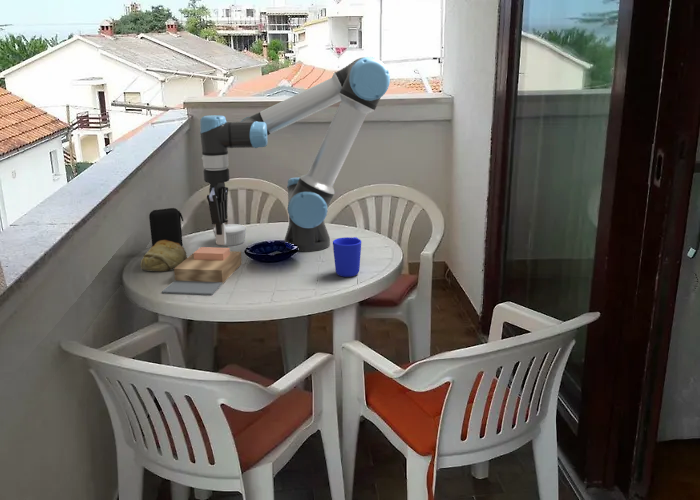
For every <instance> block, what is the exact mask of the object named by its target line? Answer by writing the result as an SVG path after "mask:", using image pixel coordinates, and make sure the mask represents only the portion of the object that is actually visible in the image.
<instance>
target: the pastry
mask: <svg viewBox="0 0 700 500" xmlns="http://www.w3.org/2000/svg"><path fill="white" fill-rule="evenodd" d="M187 258H188V256H187V252H186V250H185V248H184V247H183V246H181V245H180V244H179V243H175V242H172V241H168V240H160V241H158V242H156V244H155V245H154V246H152V245H151V247H150V248H149V250H147V252H146V253H145V254H144V255H143V257H142V259H141V260H140V264H139V265H140V269H141V270H142V271H147V272H169V271H171V270H174V268H175V267H177V266H178V265H179V264H180V263H182V262H183V261H184V260H185V259H187Z"/></svg>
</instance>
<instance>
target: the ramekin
mask: <svg viewBox="0 0 700 500" xmlns="http://www.w3.org/2000/svg"><path fill="white" fill-rule="evenodd" d="M225 230H226V244H225V245H221V246H223V247H234V246H235V247H236V246H239V245H242V244H243V243H245V239H246V233H247V232H246V231H247V226H246V225H243V224H237V223H230V224H229V223H228V224H225ZM212 231H213V234H214V238H215V240H216V232H215V227H213V230H212Z"/></svg>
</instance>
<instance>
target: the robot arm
mask: <svg viewBox="0 0 700 500" xmlns="http://www.w3.org/2000/svg"><path fill="white" fill-rule="evenodd" d="M390 76H391V75H390V72H389V70H388V67H387V66H386V65H385V63H383V61H381V60H380V59H378V58H375V57H373V56H366V57H359V58H357V59H355V60H354V61H352V62H351V63H349V64H348V65H346V66H345V67H343V68H341V69H340V70H338V71H335V72H334V73H333V75H332V77H330V78H328V79H326V80H324V81H323V82H320V83H318V84H316V85H314V86H312V87H310V88H308V89H306V90H303V91H301V92H299V93H296V94H295V95H293V96H290V97H289V98H286V99H284V100H282V101H280V102H278V103H276V104H273V105H271V106H269V107H267V108H266V109H263V110H260V111H259V112H257V113H255V114H253V115H251V116H246V117H245V118H243V119H241V121H239V122H238V121H237V122H235V121H234V122H231V121H230V122H229V121H227V120H226V119H227V118H226V116H224V115H214V114H213V115H211V114H210V115H204V116H202V117H201V118H200V123H199V124H200V126H199V129H200V130H199V131H200V132H199V133H200V134H199V135H200V142H201V153H202V157H200V158H201V161H202V165H203V181H204V182H205V183H207V184H209V190H208V193H209V194H207V195H206V200H207V202H208V206H209V207H208V208H209V209H208V210H209V212H210V219H211V225H214V228H215V232H216V239H215V244H216V245H217V246H218V245H219V246H222V245H225V244H226V230H225V225H226V223H228V222H229V220H228V203H229V202H228V200H229V198H228V194H229V187H227V186H226V183H228V182H229V181H230V169H229V168H228V167H229V166H230V164H229V163H230V161H229V152H228V149H233V148H234V149H235V148H236V149H237V148H238V149H239V148H240V149H241V148H244V149H247V148H249V149H251V148H252V149H257V148H265V147H267V146H268V136H269V135H271V134H273V133H275V132H277V131H279V130H281V129H284V128H286V127H288V126H290V125H292V124H294V123H297V122H298V121H302V120H303V119H305V118H307V117H309V116H311V115H314V114H316V113H318V112H320V111H322V110H325V109H327V108H329V107H331V106H332V105H336V104H337V103H339V102H340V103H339V105H338V107H337V110H336V112H335V114H334V115H333V118H332V119H331V122H330V123H329V127H328V128H327V130H326V133H325V135H324V137H323V140H322V141H321V144H320V145H319V148H318V150H317V152H316V154H315V156H314V159H313V161H312V163H311V165H310V166H309V170H308V171H307V173H306V174H303V175H300V177H299V176H298V177H290V178H289V179H288V180H287V185H286V187H287V199H288V200H287V203H288V204H287V213H288V227H287V229H286V230H287V231H286V234H285V237H284V243H285V242H288V243H291V244H294V245H297V246H298V248H299V251H298V252H315V251H321V250H325V249H327V248H329V247H330V245H331V239H330V238H331V237H330V235H329V232H328V229H327V226H326V224H325V219H326V218H327V215H328V210H329V209H328V208H329V206H330V204H331V201H332V200H333V198H334V195H335V193H336V192H335V189H334V184H335V182H336V179H337V177H339V174H340V172H341V170H342V168H343V165H344V163H345V161H346V159H347V157H348V155H349V153H350V151H351V149H352V146H353V145H354V143H355V140H356V138H357V136H358V134H359V132H360V130H361V127H362V126H363V124H364V122H365V119H366V117H367V115H368V114H370V113H373V112H375V110H376V109H377V106H378V104H379V102H380V100H381V98H382V97H383V96H384V95H385V94H386V93H387V91H388V89H389V87H390V83H391V79H390V78H391V77H390Z"/></svg>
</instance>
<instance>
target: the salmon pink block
mask: <svg viewBox="0 0 700 500" xmlns="http://www.w3.org/2000/svg"><path fill="white" fill-rule="evenodd" d="M230 251H231V249H230V247H216V246H214V247H210V246H209V247H207V246H206V247H205V246H201V247H199V248H198V249H196V250H195V251H194V252H193V253H194V259H199V260H224V259H225V258H227V257H228V256H229V255H230Z"/></svg>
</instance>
